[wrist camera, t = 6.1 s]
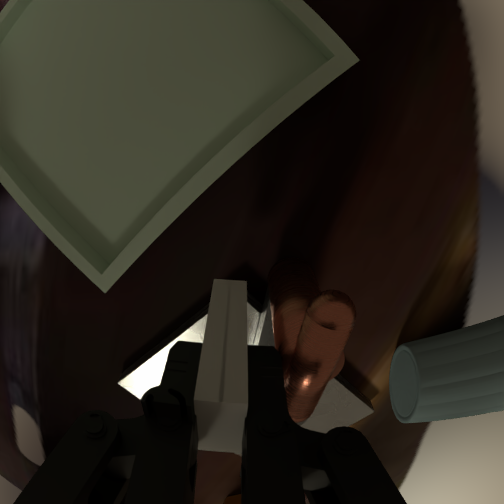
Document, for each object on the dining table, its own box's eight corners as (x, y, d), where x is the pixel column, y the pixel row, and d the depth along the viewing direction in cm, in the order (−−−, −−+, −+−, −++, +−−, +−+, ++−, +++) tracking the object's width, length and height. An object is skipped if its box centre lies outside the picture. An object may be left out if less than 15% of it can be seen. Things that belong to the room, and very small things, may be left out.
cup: (408, 301, 18) (519, 292, 17) (378, 361, 23) (477, 347, 22) (437, 415, 12) (555, 377, 11) (390, 449, 17) (498, 421, 16)
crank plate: (262, 455, 26) (262, 466, 25) (122, 372, 21) (117, 384, 20) (370, 400, 23) (374, 412, 21) (236, 280, 18) (235, 293, 17)
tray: (118, 274, 18) (105, 293, 16) (-31, 104, 12) (-52, 107, 10) (345, 67, 13) (359, 60, 11) (138, -94, 8) (127, -110, 6)
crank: (278, 429, 22) (285, 509, 15) (215, 424, 21) (208, 505, 15) (351, 233, 15) (416, 315, 9) (253, 215, 15) (257, 297, 8)
